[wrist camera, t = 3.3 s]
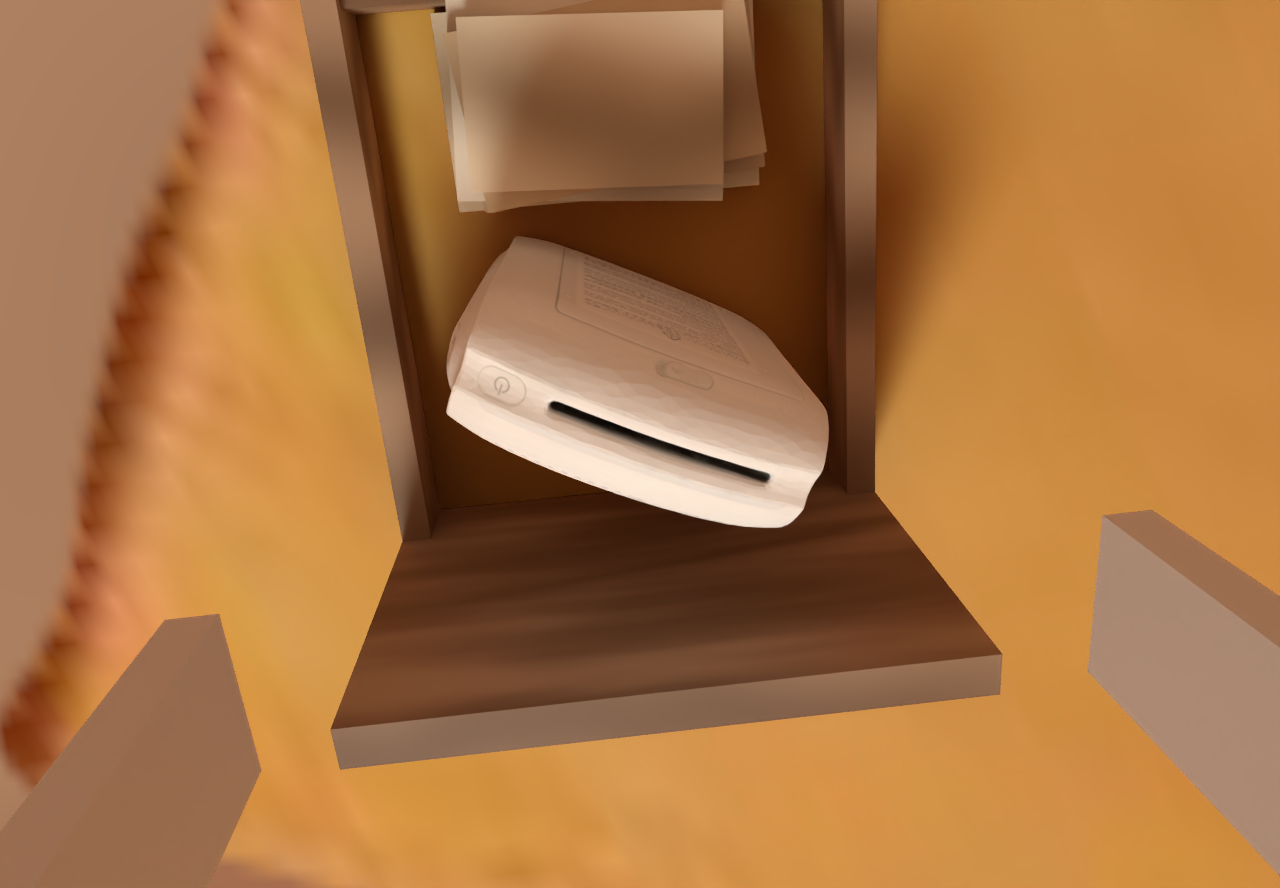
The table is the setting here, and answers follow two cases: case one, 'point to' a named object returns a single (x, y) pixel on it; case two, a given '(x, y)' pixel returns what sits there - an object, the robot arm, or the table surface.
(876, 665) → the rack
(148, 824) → the robot arm
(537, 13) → the offcut stack
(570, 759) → the table surface
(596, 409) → the photo printer
